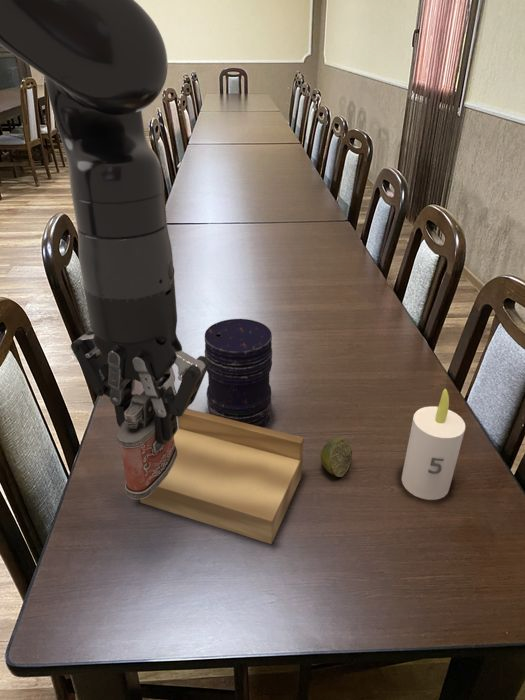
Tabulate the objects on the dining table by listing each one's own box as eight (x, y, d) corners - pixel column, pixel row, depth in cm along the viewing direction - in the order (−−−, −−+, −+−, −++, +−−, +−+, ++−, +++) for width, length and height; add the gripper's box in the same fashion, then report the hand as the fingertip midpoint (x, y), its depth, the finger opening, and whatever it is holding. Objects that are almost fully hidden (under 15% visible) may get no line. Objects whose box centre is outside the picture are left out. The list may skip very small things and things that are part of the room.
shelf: (271, 544, 64) (272, 502, 60) (140, 502, 69) (134, 462, 66) (301, 476, 74) (303, 437, 70) (184, 444, 79) (181, 406, 75)
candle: (403, 497, 70) (421, 406, 63) (400, 463, 76) (416, 375, 68) (452, 504, 70) (477, 412, 62) (446, 468, 75) (468, 380, 67)
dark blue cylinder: (266, 396, 89) (268, 316, 82) (275, 434, 81) (277, 350, 73) (206, 400, 88) (202, 320, 80) (209, 439, 80) (204, 354, 72)
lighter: (147, 503, 53) (137, 423, 48) (118, 494, 54) (104, 415, 49) (183, 451, 60) (177, 376, 55) (156, 444, 61) (148, 370, 56)
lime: (350, 459, 77) (353, 431, 74) (352, 483, 73) (356, 455, 70) (319, 457, 77) (321, 429, 74) (319, 481, 73) (321, 453, 70)
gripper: (30, 280, 44) (66, 440, 53) (182, 309, 40) (193, 478, 49) (86, 250, 51) (110, 398, 59) (223, 273, 46) (227, 429, 55)
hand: (148, 433), depth 54 cm, fingers closed on lighter, 3 cm apart
